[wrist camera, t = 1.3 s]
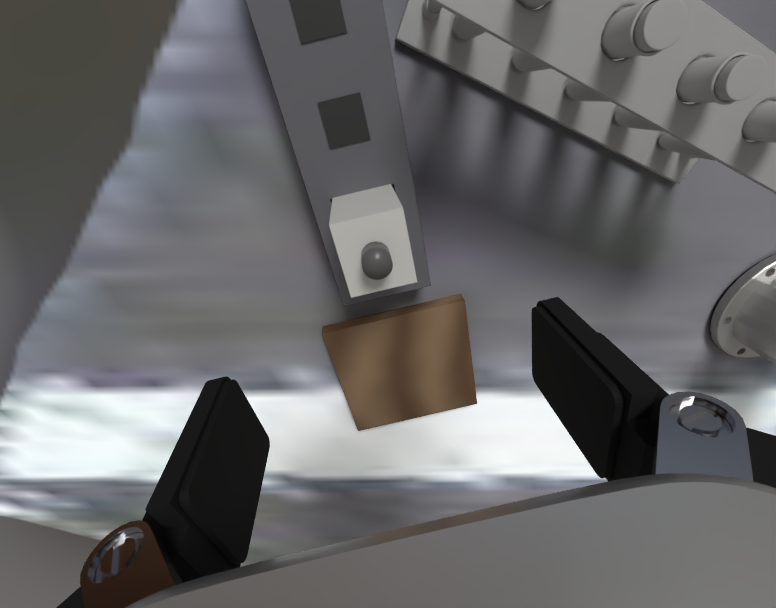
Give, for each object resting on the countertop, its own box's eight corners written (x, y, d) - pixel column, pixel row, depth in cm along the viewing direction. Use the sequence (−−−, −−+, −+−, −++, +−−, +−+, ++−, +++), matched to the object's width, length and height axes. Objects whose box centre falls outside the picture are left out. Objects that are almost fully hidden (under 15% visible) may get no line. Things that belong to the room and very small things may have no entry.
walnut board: (460, 294, 33) (464, 300, 32) (473, 395, 40) (477, 403, 38) (322, 326, 33) (321, 334, 32) (357, 422, 40) (358, 431, 39)
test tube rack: (712, 126, 28) (965, 146, 17) (672, 182, 30) (874, 234, 18) (422, -45, 21) (510, -211, 10) (394, 39, 23) (441, -17, 12)
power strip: (359, -83, 20) (362, -120, 17) (422, 267, 31) (432, 288, 28) (239, -52, 20) (217, -83, 17) (344, 286, 31) (343, 309, 28)
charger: (387, 176, 26) (407, 215, 18) (398, 234, 29) (421, 294, 20) (333, 189, 26) (327, 234, 18) (349, 246, 29) (351, 310, 20)
